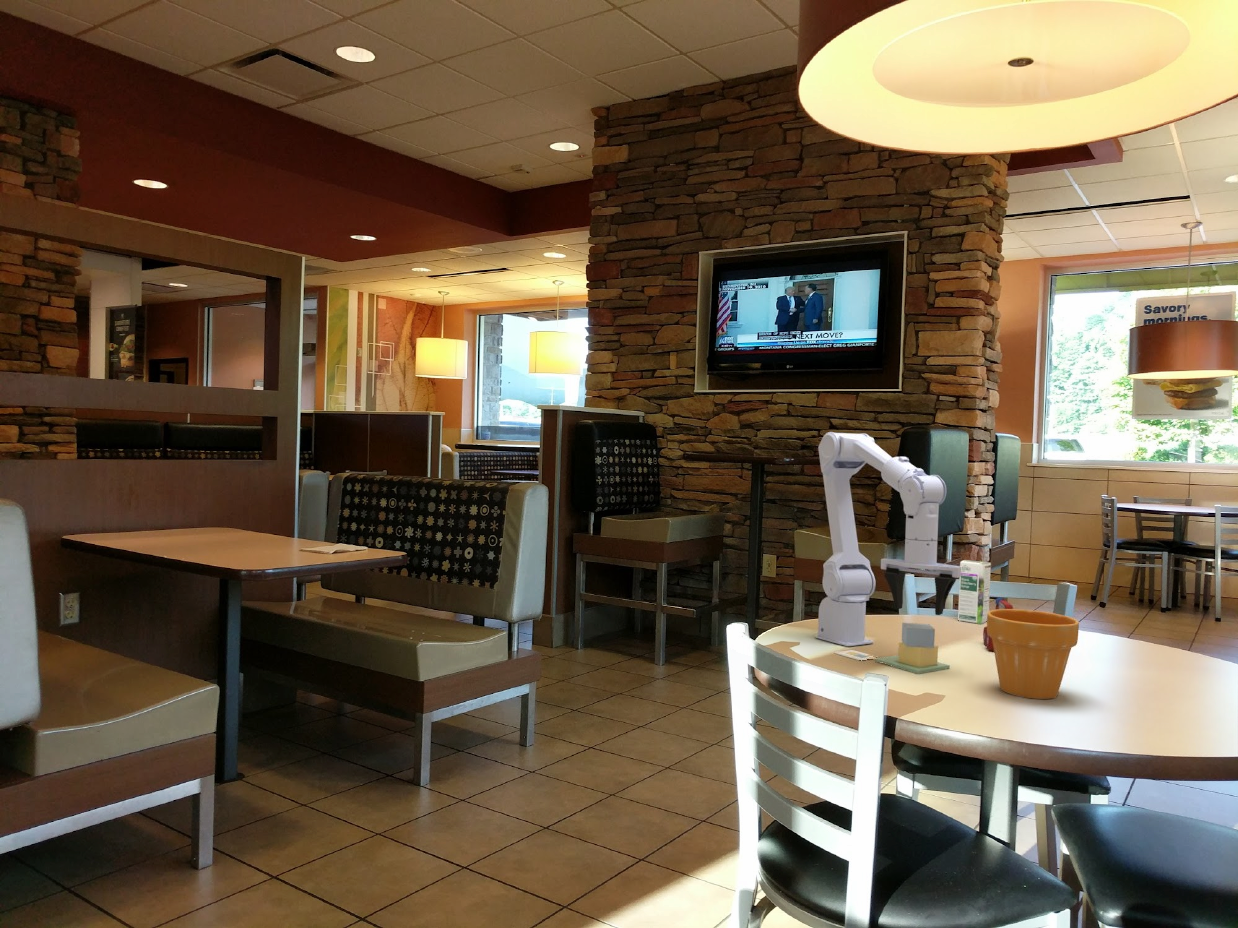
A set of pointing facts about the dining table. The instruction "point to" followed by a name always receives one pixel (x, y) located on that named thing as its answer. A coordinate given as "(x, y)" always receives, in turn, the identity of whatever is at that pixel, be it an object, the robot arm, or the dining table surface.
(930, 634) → the brick
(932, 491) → the robot arm
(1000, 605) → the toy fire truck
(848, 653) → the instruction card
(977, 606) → the syrup box
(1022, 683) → the flower pot
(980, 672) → the dining table surface
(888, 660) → the plate
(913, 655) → the brick
